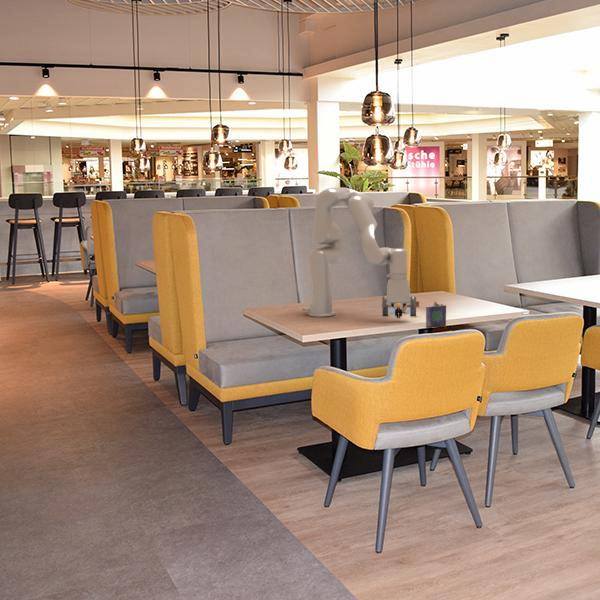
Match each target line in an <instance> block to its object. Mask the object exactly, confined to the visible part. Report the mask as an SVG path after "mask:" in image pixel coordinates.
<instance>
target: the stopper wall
mask: <svg viewBox="0 0 600 600" xmlns="http://www.w3.org/2000/svg"><path fill="white" fill-rule="evenodd" d="M388 308H393V307H392V306H391V305H388ZM406 308H410V305H406ZM416 308H420V301H417V300H416Z"/></svg>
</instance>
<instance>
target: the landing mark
mask: <svg viewBox="0 0 600 600" xmlns="http://www.w3.org/2000/svg"><path fill="white" fill-rule="evenodd" d="M388 313H395V309H394V308H393V307H388ZM403 313H410V308H406V310H405V311H404V312H403Z"/></svg>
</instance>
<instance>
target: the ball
mask: <svg viewBox="0 0 600 600" xmlns="http://www.w3.org/2000/svg"><path fill="white" fill-rule="evenodd" d="M397 307H398V313H399V307H400V303H397ZM406 309H407V307H406V306H405V307H404V308H403V309H402V313H403V312H404V311H405V310H406Z"/></svg>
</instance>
